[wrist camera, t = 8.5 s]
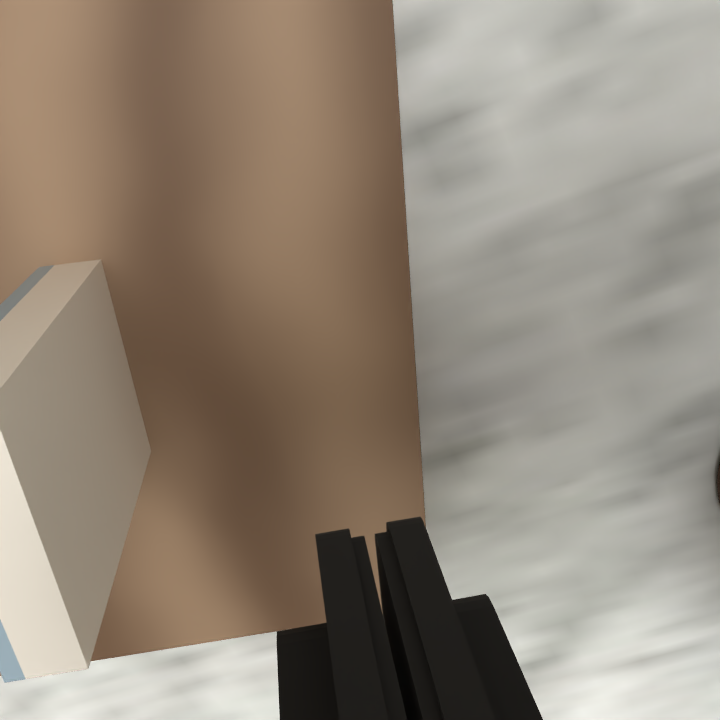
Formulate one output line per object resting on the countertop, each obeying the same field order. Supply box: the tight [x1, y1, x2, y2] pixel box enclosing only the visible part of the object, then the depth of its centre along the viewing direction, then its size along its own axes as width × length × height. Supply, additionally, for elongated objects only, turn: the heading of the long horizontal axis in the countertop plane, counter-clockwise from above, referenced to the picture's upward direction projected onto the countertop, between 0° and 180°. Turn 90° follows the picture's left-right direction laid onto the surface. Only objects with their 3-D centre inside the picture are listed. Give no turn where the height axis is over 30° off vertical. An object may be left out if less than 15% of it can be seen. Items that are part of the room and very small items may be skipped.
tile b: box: [0, 260, 151, 682], centre depth 16 cm, size 2×6×8 cm, turn 5°
